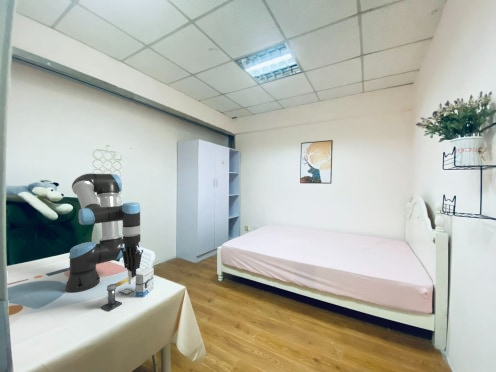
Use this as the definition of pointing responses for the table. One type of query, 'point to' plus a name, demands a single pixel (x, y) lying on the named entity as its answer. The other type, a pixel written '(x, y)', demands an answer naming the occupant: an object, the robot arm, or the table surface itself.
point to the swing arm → (117, 284)
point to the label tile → (126, 292)
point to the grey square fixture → (111, 302)
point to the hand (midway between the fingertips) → (132, 282)
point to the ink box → (144, 281)
